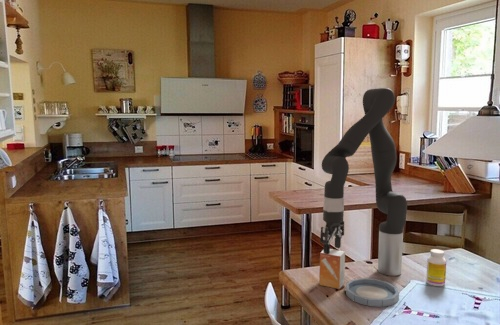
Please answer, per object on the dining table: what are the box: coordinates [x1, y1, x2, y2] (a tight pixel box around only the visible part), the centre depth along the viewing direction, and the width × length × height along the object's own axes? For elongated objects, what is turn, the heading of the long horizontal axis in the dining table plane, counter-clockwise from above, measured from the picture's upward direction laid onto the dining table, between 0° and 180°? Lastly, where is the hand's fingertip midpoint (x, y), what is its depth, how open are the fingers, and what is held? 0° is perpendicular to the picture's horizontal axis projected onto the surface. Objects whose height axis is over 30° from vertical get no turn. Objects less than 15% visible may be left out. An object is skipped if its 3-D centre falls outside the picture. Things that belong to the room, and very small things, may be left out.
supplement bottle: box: [425, 248, 447, 287], centre depth 156 cm, size 7×7×13 cm
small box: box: [318, 248, 346, 290], centre depth 155 cm, size 8×6×13 cm
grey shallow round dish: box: [345, 277, 400, 308], centre depth 147 cm, size 18×18×2 cm
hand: (332, 250), depth 155 cm, fingers open, 8 cm apart
